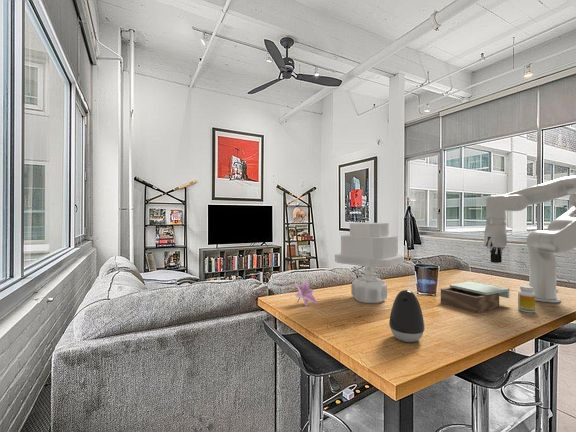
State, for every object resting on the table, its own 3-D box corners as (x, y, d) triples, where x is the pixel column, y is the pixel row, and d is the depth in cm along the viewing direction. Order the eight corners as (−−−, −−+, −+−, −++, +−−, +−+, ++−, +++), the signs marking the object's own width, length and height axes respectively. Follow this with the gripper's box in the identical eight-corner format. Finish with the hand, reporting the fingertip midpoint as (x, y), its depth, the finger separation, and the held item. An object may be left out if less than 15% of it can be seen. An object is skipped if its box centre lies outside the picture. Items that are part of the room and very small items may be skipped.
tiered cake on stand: (409, 299, 139) (409, 223, 139) (383, 312, 120) (383, 224, 120) (357, 289, 157) (357, 222, 157) (328, 299, 138) (328, 223, 138)
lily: (290, 310, 126) (300, 291, 123) (284, 293, 136) (293, 275, 134) (314, 315, 130) (324, 298, 128) (306, 298, 141) (315, 281, 138)
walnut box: (462, 298, 140) (462, 285, 140) (499, 307, 126) (499, 293, 126) (440, 302, 133) (440, 288, 133) (476, 312, 119) (476, 297, 119)
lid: (472, 289, 143) (472, 281, 143) (509, 297, 129) (509, 288, 129) (449, 293, 136) (449, 284, 136) (486, 302, 122) (486, 292, 122)
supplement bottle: (538, 313, 119) (538, 288, 119) (522, 312, 120) (522, 287, 120) (530, 309, 124) (530, 285, 124) (515, 308, 125) (515, 284, 125)
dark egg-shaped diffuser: (385, 341, 92) (385, 291, 92) (393, 330, 101) (393, 284, 101) (421, 349, 87) (421, 296, 87) (426, 336, 96) (426, 288, 96)
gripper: (497, 222, 145) (497, 260, 145) (477, 222, 138) (477, 262, 138) (514, 222, 138) (514, 262, 138) (494, 222, 131) (494, 264, 131)
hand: (496, 262), depth 138 cm, fingers closed
